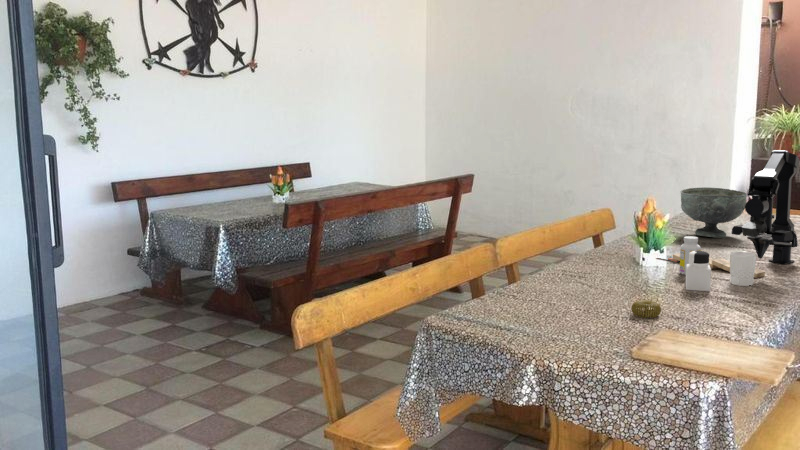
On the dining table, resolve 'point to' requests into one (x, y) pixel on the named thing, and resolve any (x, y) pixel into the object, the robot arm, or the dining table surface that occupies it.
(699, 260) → the medicine bottle
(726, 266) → the domino
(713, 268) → the domino
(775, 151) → the robot arm
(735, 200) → the decorative bowl
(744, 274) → the white cup
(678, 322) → the dining table surface
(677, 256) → the domino
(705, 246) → the dining table surface
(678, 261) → the domino
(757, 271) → the domino
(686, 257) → the supplement bottle
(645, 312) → the olive green ribbed ring
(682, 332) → the dining table surface
